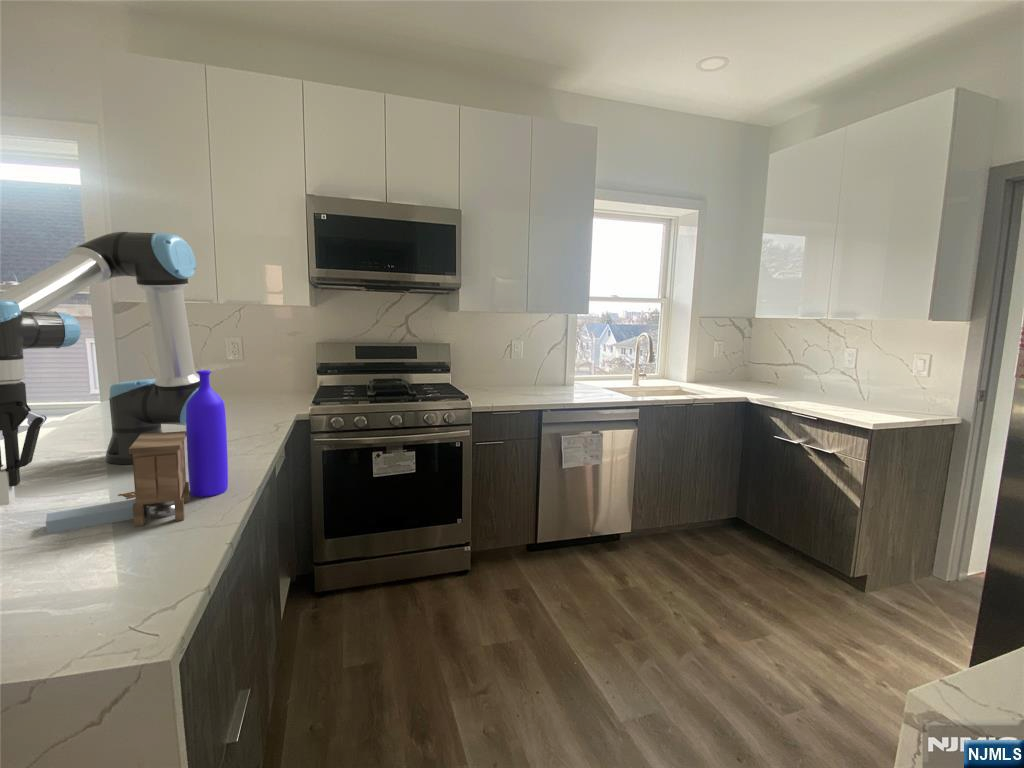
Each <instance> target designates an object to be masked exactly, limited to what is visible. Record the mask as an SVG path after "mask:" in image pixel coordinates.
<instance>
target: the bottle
mask: <svg viewBox="0 0 1024 768" xmlns="http://www.w3.org/2000/svg"><path fill="white" fill-rule="evenodd" d="M212 371H213V370H207V369H206V370H197V371H196V373H197V374H198V375H199V376H200V386H199V389H198V390H197V391H196V392H195V393H194V395H193V396H192V397H191V398H190V399H189V401H188V402H187V405H186V426H185V429H186V430H185V431H186V453H187V454H186V455H187V470H188V473H187V474H188V482H189V493H190V494H191V496H193V497H197V498H208V497H215V496H218V495H222V494H223V493H226V492H227V490H228V487H229V470H228V469H229V465H228V435H227V417H226V407H225V402H224V400H223V399H222V398H221V396H220V395H219V394H218V393H217V392H216V391H214V390H213V388H212V387H211V385H210V384H211V383H210V374H212Z"/></svg>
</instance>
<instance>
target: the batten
mask: <svg viewBox="0 0 1024 768" xmlns="http://www.w3.org/2000/svg"><path fill="white" fill-rule="evenodd" d="M134 503H136V500H135V498H131V499H125V500H121V501H116V502H115V501H114V502H108V503H104V504H97V505H91V506H86V507H84V506H83V507H79V508H73V509H66V510H60V511H55V512H50V513H49V512H47V513H46V518H45V530H46V535H53V534H57V533H62V532H68V531H74V530H79V529H84V528H90V527H91V528H92V527H96V526H100V525H101V526H102V525H106V524H111V523H116V522H117V523H118V522H122V521H128V520H134V517H133V504H134Z"/></svg>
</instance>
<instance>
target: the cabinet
mask: <svg viewBox="0 0 1024 768" xmlns="http://www.w3.org/2000/svg"><path fill="white" fill-rule="evenodd" d="M186 439H187V435H186V430H183V431H182V430H181V431H167V432H163V433H148V434H140V436H139V437H138V438H137V439H136V440H135V442H134V443H133V444H132V445H131V446H130V448H129V454H132V453H133V464H132V467H133V480H134V482H133V483H134V485H133V486H134V492H135V494H134V495H135V497H134V499H135V500H136V503H134V504H133V517H134V519H133V527H134V528H135V527H143V526H144V524H145V512H144V511H145V508H146V507H147V506H148V505H150V504H152V503H160V502H169V501H174V506H175V515H174V520H175V522H180V521H184V520H185V518H186V517H185V504H189V502H190V486H189V481H187V475H186V455H185V440H186Z"/></svg>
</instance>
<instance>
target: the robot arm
mask: <svg viewBox="0 0 1024 768" xmlns="http://www.w3.org/2000/svg"><path fill="white" fill-rule="evenodd" d="M196 267H197V263H196V258H195V254H194V251H193V249H192V247H191V246H190V245H189V243H187V242H186V240H184V239H183V238H182V237H181V236H179V235H176V234H173V233H164V232H137V231H136V232H133V231H132V232H130V231H117V232H115V231H114V232H111V233H107V234H103V235H100V236H99V237H96V238H93V239H91V240H88V241H86V242H84V243H81V244H80V245H78V246H77V247H74V248H71V250H70V251H69V253H68V256H67V257H66V258H64V259H62V260H60V261H58V262H57V263H54V264H53V265H51V266H49V267H47V268H45V269H44V270H42V271H39V272H38V273H36V274H34V275H32V276H30V277H29V278H27V279H24V280H23V281H21V282H19V283H18V284H16V285H14V286H12V287H10V288H8V289H5V290H4V291H2V292H1V293H0V432H2V436H3V443H4V454H5V455H4V456H5V465H6V468H3V466H4V464H3V463H2V452H1V451H2V450H1V447H0V506H9V505H11V504H12V503H13V502H15V501H16V494H15V487H16V486H18V485H20V483H21V474H20V473H21V472H20V468H22V467H26V466H28V465H29V464H31V463H32V462H33V459H34V456H35V455H34V454H35V449H36V445H37V442H38V439H39V435H40V429H41V427H42V426H43V424H44V423H45V422H46V421H47V416H46V415H39V414H37V413H35V412H32V410H31V408H30V406H29V405H28V403H27V389H26V387H27V386H26V383H25V382H23V381H22V380H24V379H25V378H26V376H25V375H26V374H25V365H24V364H25V363H24V350H26V349H51V348H52V349H60V348H65V347H66V348H67V347H71V346H73V345H75V344H76V343H77V342H78V341H79V340H80V337H81V335H82V333H81V331H82V330H81V325H80V323H79V321H78V320H77V319H76V318H75V317H74V316H73V315H72V314H70V313H66V312H60V311H55V310H54V311H51V310H53V309H55V308H56V307H58V306H59V305H60V304H63V303H64V302H66V301H67V300H69V299H70V298H73V297H74V296H76V295H77V294H78V293H80V292H82V291H84V290H85V289H87V288H89V287H91V285H93V284H95V283H96V284H97V283H98V284H99V283H105V282H106V281H108V280H110V279H113V278H118V277H119V278H120V277H135V280H136V286H138V287H140V288H141V289H142V290H144V292H145V298H146V303H147V309H148V316H149V321H150V327H151V332H152V333H151V334H152V338H153V344H154V349H155V356H156V362H157V369H158V375H159V376H158V377H157V378H147V379H137V380H128V381H122V382H121V381H120V382H116V383H113V384H111V386H110V387H109V397H108V400H109V409H110V410H109V411H110V419H111V421H110V422H111V438H110V440H109V443H108V446H107V449H106V453H105V461H106V462H107V463H109V464H113V465H133V453H132V454H129V448H130V446H131V445H132V444H133V443H134V442H135V440H136V439H137V438H138V437H139V436H140V434H148V433H164V432H163V429H162V425H176V426H178V425H179V426H185V427H186V405H187V402H188V401H189V399H190V398H191V397H192V396H193V395H194V393H195V392H196V391H197V390H198V389H199V386H200V376H199V374H198V373H197V371H196V368H195V362H194V356H193V350H192V341H191V336H190V335H191V334H190V330H189V322H188V316H187V308H186V302H185V296H184V295H185V294H184V290H185V289H186V287H187V286H188V285H189V279H190V278H192V277H193V276H194V274H195V272H196V271H195V270H196ZM26 419H27V425H29V426H28V428H27V430H26V434H25V438H24V442H23V447H22V451H21V454H20V448H19V435H18V433H19V427H20V425H22V423H23V422H24V421H25V420H26Z"/></svg>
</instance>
